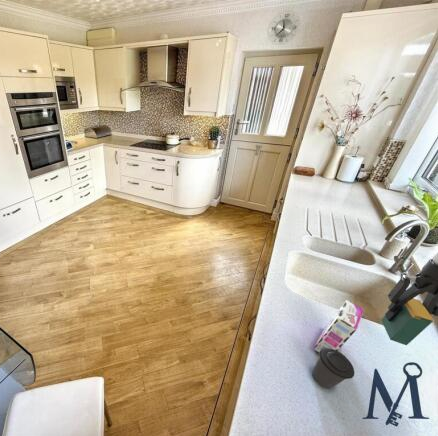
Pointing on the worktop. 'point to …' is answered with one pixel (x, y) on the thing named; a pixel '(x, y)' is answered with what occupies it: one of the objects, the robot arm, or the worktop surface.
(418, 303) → the carton
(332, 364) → the coffee cup
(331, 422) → the worktop surface
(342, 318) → the candy bar box
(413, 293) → the robot arm
